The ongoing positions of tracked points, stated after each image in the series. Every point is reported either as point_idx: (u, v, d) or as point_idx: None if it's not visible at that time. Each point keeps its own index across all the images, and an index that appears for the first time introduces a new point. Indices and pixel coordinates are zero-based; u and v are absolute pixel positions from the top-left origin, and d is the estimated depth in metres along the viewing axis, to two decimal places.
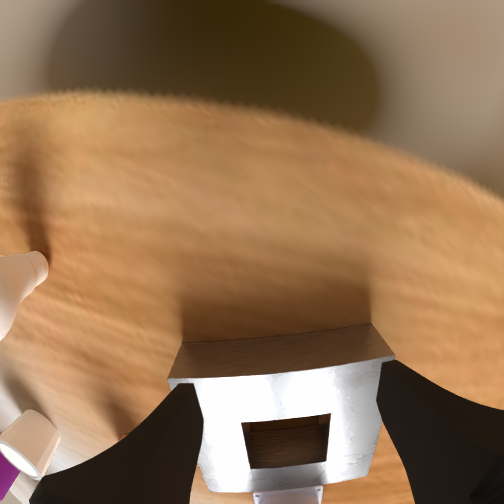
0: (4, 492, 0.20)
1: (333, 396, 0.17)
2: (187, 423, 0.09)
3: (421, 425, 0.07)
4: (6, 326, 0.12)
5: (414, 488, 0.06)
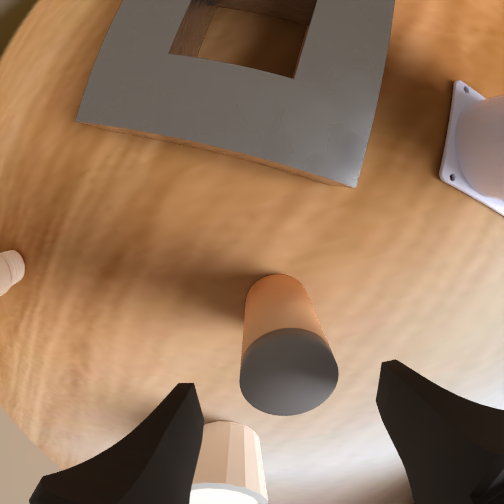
0: None
1: None
2: (187, 423, 0.09)
3: (421, 425, 0.07)
4: None
5: (414, 488, 0.06)
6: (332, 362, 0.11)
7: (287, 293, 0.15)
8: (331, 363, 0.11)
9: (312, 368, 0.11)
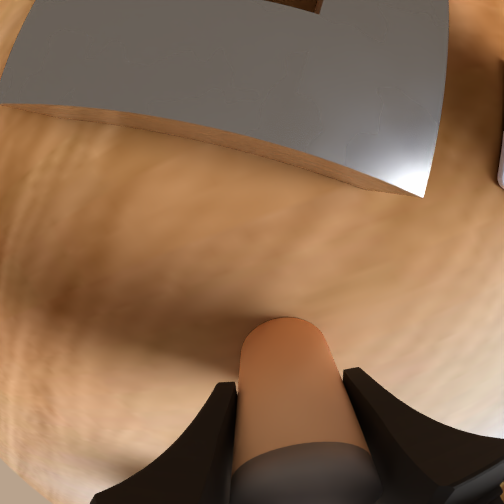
0: None
1: None
2: (232, 423, 0.09)
3: (375, 438, 0.07)
4: None
5: None
6: (376, 485, 0.05)
7: (303, 357, 0.10)
8: (374, 486, 0.05)
9: (344, 495, 0.05)
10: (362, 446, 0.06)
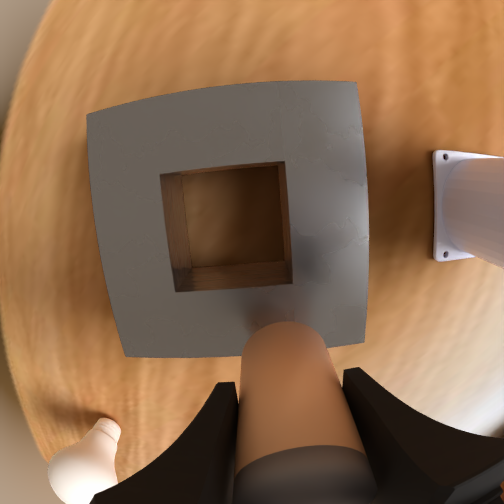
0: None
1: (131, 178, 0.14)
2: (232, 423, 0.09)
3: (375, 438, 0.07)
4: (88, 467, 0.15)
5: None
6: (370, 485, 0.05)
7: (298, 361, 0.10)
8: (368, 485, 0.05)
9: (340, 495, 0.05)
10: (355, 447, 0.06)
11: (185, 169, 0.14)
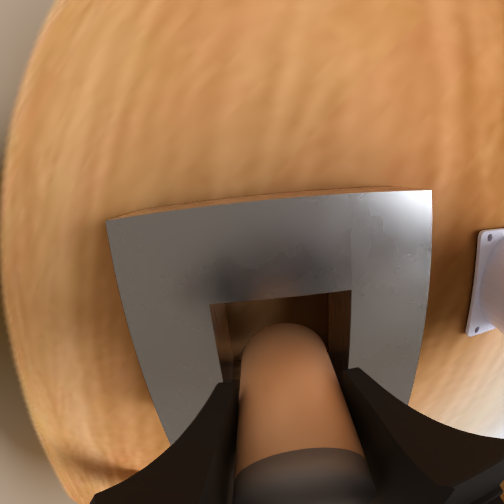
0: None
1: (173, 305, 0.12)
2: (232, 423, 0.09)
3: (375, 438, 0.07)
4: None
5: None
6: (368, 486, 0.05)
7: (296, 364, 0.10)
8: (366, 487, 0.05)
9: (338, 496, 0.06)
10: (353, 449, 0.06)
11: (240, 300, 0.12)
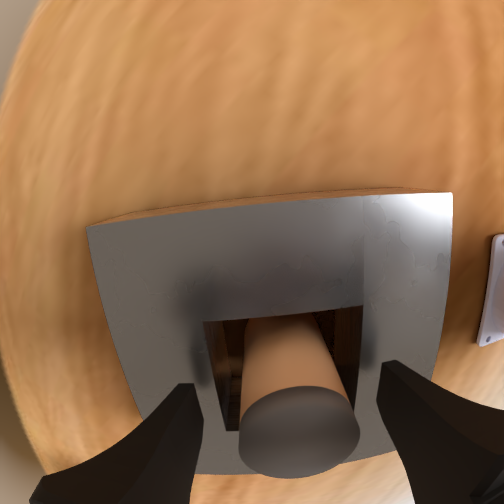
0: None
1: (162, 322, 0.11)
2: (187, 423, 0.09)
3: (421, 425, 0.07)
4: None
5: (414, 488, 0.06)
6: (352, 422, 0.08)
7: (290, 329, 0.12)
8: (351, 423, 0.08)
9: (327, 432, 0.08)
10: (338, 391, 0.09)
11: (237, 318, 0.11)
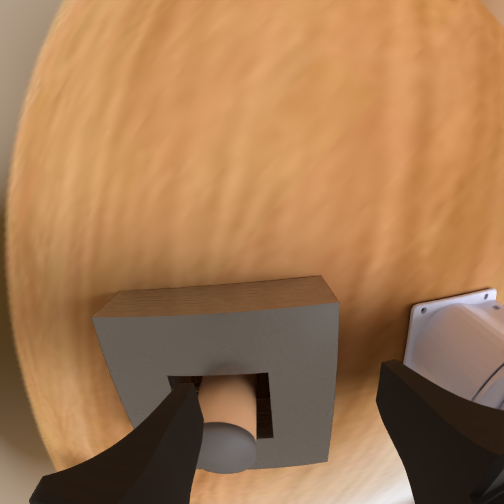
0: None
1: (143, 374, 0.16)
2: (187, 423, 0.09)
3: (421, 425, 0.07)
4: None
5: (414, 488, 0.06)
6: (247, 446, 0.13)
7: (226, 380, 0.18)
8: (247, 446, 0.13)
9: (233, 449, 0.13)
10: (242, 426, 0.14)
11: (187, 375, 0.16)
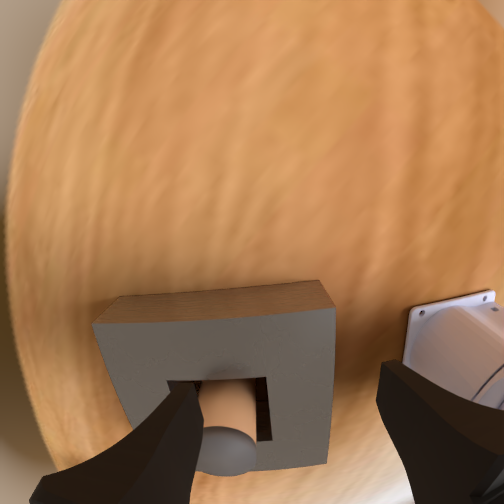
0: None
1: (143, 379, 0.16)
2: (187, 423, 0.09)
3: (421, 425, 0.07)
4: None
5: (414, 488, 0.06)
6: (247, 449, 0.13)
7: (225, 384, 0.18)
8: (247, 450, 0.14)
9: (234, 452, 0.14)
10: (242, 430, 0.14)
11: (186, 379, 0.16)
